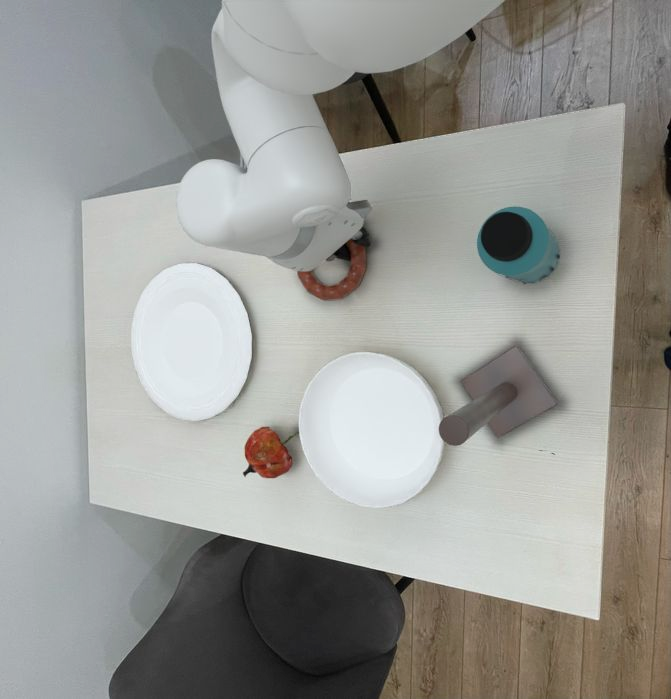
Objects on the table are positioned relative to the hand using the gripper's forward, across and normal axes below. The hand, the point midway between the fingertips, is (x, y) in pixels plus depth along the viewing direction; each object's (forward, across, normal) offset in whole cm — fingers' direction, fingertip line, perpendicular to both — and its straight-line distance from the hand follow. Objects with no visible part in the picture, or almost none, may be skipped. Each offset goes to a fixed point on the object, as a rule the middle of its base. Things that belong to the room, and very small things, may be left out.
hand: (354, 243), depth 72 cm
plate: (0, +31, -5) cm, 32 cm away
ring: (-1, +4, 0) cm, 4 cm away
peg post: (0, -6, +27) cm, 28 cm away
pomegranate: (0, +26, +17) cm, 31 cm away
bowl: (0, +10, +22) cm, 24 cm away
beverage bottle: (0, -17, +16) cm, 23 cm away
